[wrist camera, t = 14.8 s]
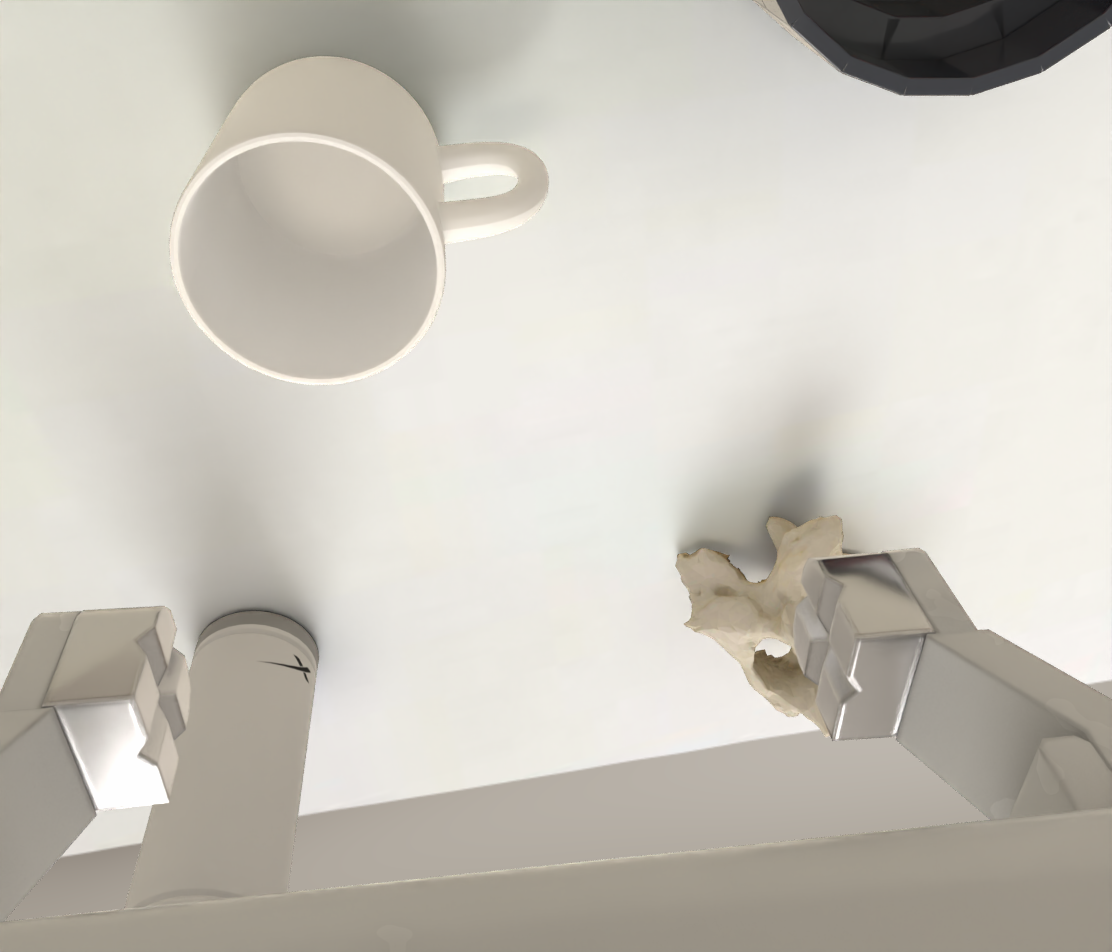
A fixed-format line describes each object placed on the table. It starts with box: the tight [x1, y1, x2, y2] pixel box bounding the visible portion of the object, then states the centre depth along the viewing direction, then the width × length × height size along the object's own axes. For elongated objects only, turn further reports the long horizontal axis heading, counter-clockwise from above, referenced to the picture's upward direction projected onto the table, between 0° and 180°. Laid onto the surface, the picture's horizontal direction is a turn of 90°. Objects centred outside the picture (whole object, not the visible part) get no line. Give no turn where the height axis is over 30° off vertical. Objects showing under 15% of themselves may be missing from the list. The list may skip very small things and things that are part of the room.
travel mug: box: [124, 611, 319, 909], centre depth 45 cm, size 6×7×20 cm
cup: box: [169, 56, 549, 385], centre depth 35 cm, size 8×12×10 cm
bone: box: [675, 515, 851, 737], centre depth 52 cm, size 9×14×8 cm, turn 40°
